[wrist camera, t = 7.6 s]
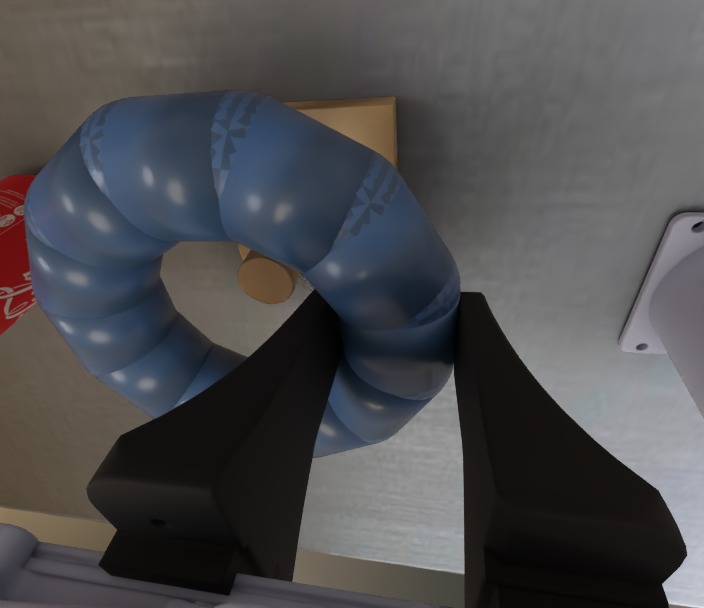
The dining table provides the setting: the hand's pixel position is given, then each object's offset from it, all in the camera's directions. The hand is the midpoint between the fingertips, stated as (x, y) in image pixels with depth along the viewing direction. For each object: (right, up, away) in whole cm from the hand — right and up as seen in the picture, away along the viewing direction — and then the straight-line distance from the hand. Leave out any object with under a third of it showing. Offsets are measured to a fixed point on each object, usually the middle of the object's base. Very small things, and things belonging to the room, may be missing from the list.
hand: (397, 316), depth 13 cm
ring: (-5, 0, +1) cm, 5 cm away
